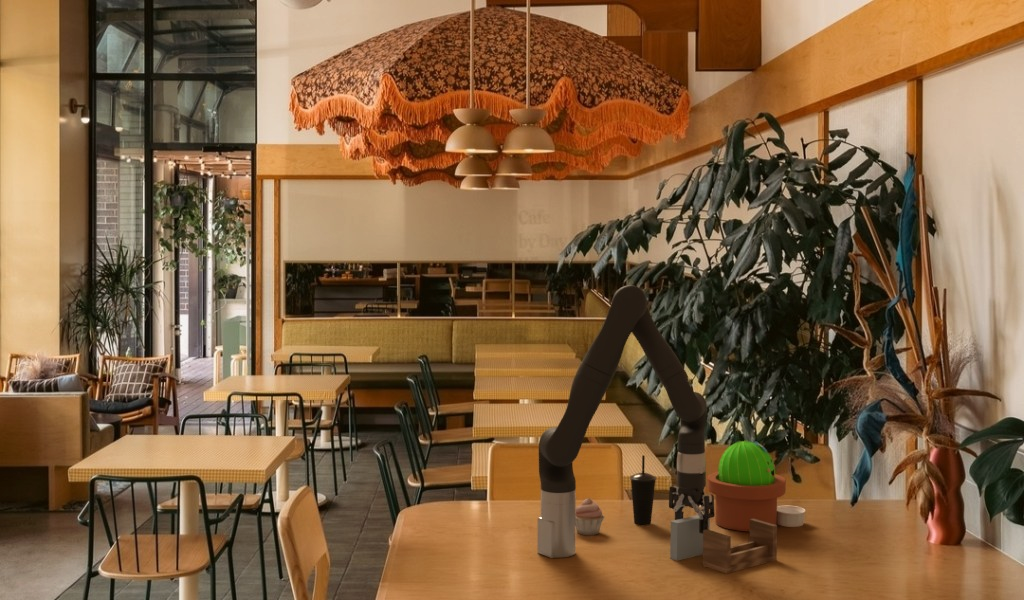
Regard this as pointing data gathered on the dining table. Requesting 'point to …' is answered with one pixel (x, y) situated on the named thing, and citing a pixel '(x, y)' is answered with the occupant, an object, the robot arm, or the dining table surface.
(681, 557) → the gray rectangular slab
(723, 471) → the potted cactus
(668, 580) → the dining table surface
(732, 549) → the wooden card holder
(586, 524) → the cupcake
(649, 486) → the drinking cup
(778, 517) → the ramekin
